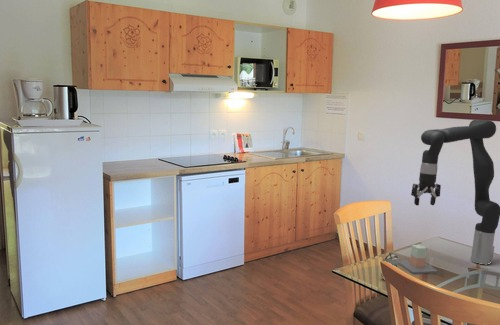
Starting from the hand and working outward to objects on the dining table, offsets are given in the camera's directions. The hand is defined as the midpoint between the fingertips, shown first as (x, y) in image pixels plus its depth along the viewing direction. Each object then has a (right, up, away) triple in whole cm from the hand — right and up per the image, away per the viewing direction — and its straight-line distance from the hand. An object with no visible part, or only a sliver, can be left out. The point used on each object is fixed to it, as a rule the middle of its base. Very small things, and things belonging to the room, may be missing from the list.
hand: (424, 205), depth 212 cm
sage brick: (-1, -26, +4) cm, 26 cm away
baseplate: (-2, -32, +5) cm, 32 cm away
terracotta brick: (-2, -31, +5) cm, 31 cm away
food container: (-19, -33, -8) cm, 39 cm away
